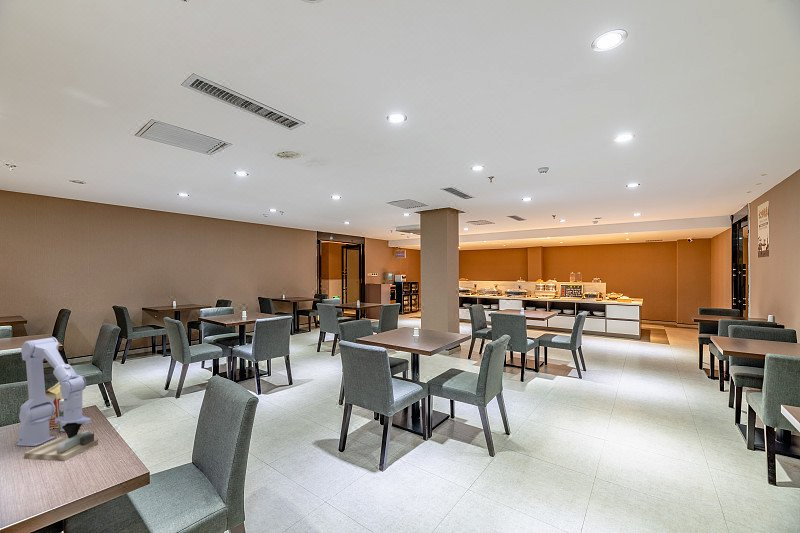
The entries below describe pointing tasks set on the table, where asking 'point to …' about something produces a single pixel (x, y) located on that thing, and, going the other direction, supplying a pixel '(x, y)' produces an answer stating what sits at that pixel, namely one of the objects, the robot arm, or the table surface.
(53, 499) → the table surface
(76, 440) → the stool leg
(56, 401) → the milk carton
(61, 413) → the syrup box
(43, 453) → the stool seat
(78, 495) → the table surface
